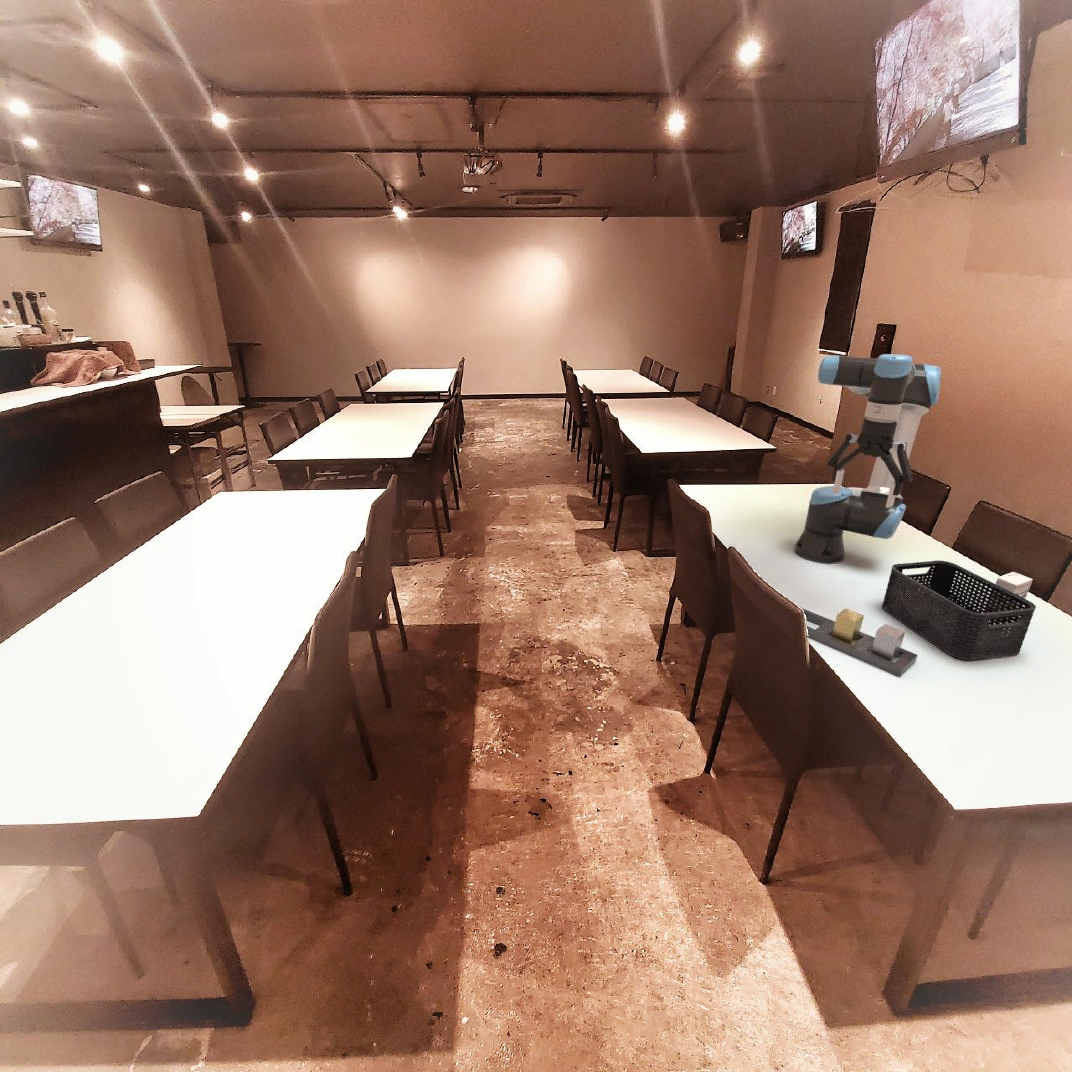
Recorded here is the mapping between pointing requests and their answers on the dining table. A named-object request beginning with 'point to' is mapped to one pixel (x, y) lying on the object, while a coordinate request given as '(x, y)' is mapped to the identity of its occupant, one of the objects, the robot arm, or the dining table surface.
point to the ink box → (1014, 585)
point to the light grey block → (888, 642)
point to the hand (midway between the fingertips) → (861, 499)
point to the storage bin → (958, 610)
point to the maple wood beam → (847, 626)
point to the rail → (858, 646)
